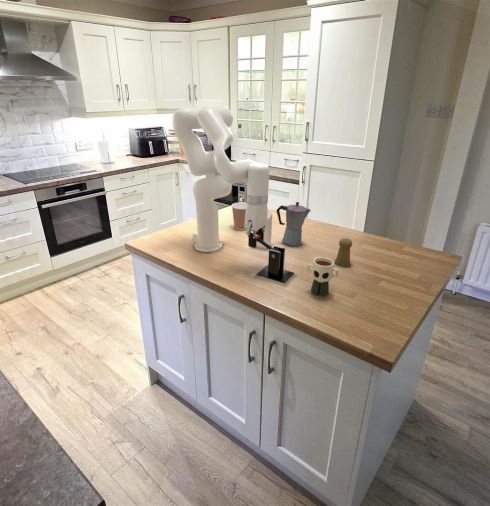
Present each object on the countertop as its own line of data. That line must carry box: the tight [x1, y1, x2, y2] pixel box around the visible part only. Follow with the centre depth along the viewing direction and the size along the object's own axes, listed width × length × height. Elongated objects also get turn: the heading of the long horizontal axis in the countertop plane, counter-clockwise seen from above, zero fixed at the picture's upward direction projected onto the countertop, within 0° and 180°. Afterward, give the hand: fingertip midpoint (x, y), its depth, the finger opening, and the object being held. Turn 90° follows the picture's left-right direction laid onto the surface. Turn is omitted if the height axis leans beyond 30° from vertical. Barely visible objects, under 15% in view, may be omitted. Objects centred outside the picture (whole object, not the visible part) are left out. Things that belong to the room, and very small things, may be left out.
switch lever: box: [256, 234, 282, 255], centre depth 132 cm, size 12×5×2 cm, turn 61°
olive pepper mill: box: [334, 237, 353, 268], centre depth 144 cm, size 6×6×11 cm
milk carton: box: [251, 208, 273, 249], centre depth 157 cm, size 7×7×19 cm
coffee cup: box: [231, 201, 248, 231], centre depth 179 cm, size 10×10×12 cm
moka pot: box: [276, 201, 312, 247], centre depth 160 cm, size 10×15×20 cm, turn 89°
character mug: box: [306, 256, 340, 298], centre depth 122 cm, size 11×7×13 cm, turn 69°
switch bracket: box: [256, 245, 295, 284], centre depth 133 cm, size 12×9×12 cm
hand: (256, 243), depth 135 cm, fingers closed on switch lever, 5 cm apart
